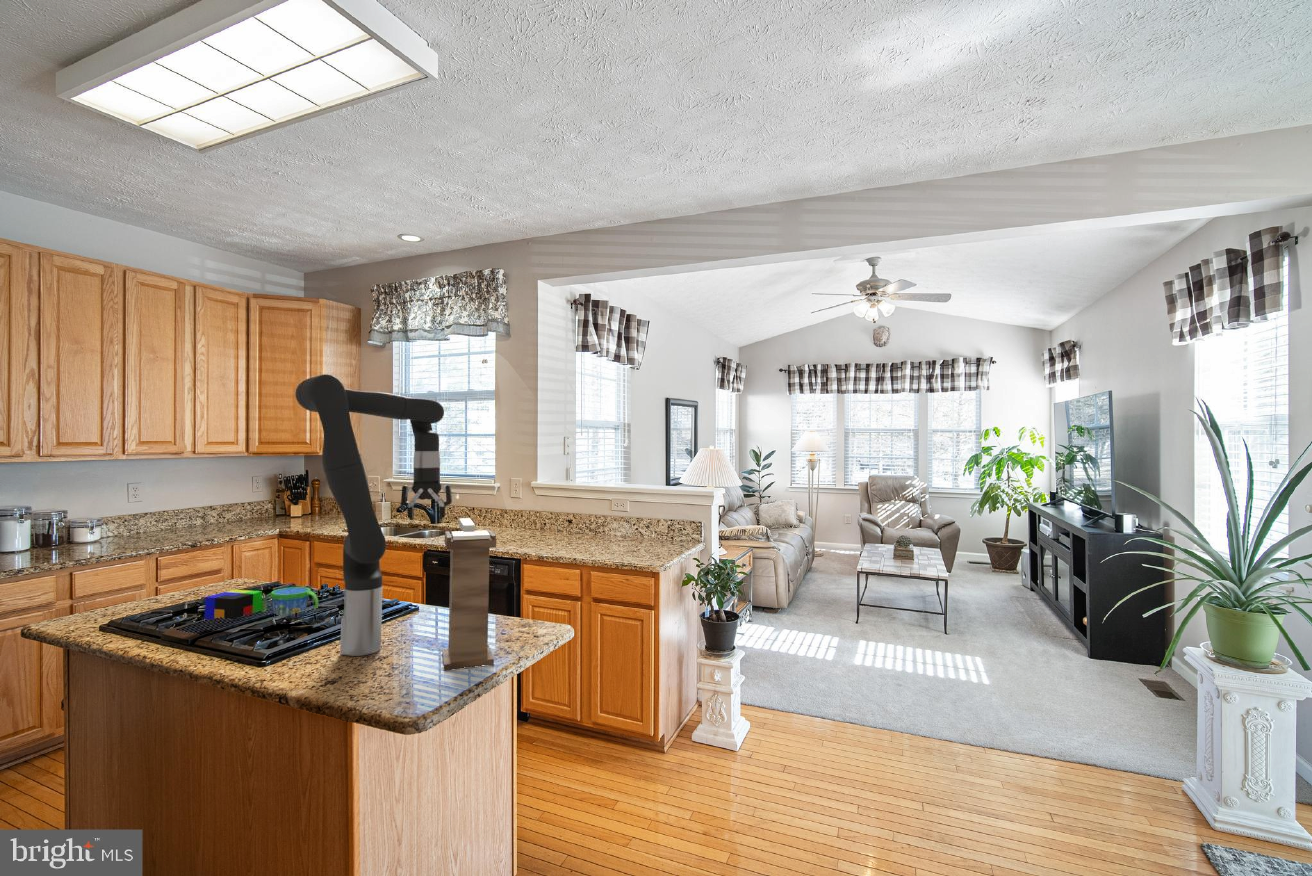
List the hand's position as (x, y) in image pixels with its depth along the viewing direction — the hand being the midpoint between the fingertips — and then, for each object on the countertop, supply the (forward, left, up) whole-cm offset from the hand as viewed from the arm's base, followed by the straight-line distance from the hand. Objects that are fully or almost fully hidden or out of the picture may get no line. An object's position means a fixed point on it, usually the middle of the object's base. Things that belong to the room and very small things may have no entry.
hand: (426, 519), depth 181 cm
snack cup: (-43, +13, -34) cm, 56 cm away
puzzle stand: (+16, -28, -34) cm, 47 cm away
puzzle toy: (-58, +11, -34) cm, 68 cm away
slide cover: (+15, -21, -1) cm, 26 cm away
